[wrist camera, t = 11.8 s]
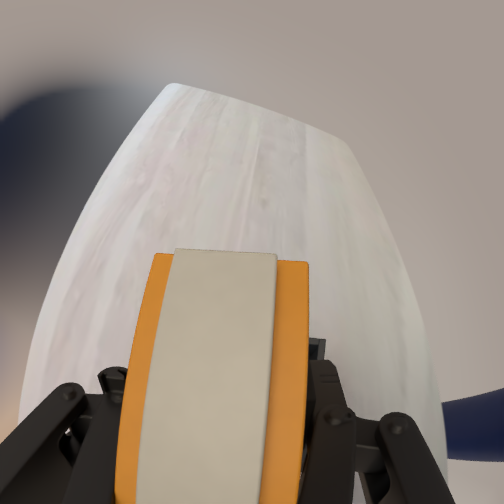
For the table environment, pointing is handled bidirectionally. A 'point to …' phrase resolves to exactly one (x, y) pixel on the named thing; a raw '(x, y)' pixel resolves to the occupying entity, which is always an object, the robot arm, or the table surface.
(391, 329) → the table surface
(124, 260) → the table surface
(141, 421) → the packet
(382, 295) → the table surface
